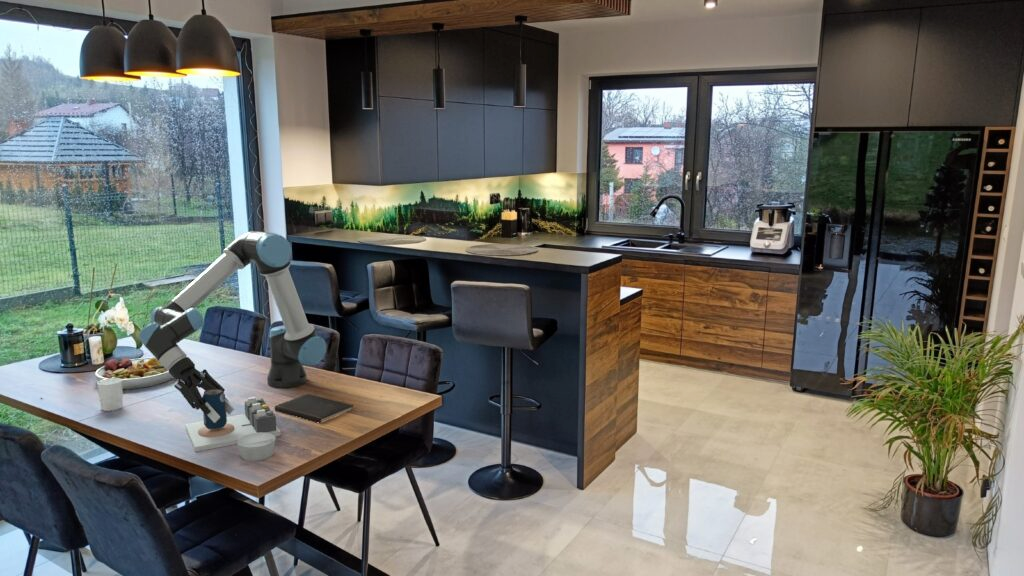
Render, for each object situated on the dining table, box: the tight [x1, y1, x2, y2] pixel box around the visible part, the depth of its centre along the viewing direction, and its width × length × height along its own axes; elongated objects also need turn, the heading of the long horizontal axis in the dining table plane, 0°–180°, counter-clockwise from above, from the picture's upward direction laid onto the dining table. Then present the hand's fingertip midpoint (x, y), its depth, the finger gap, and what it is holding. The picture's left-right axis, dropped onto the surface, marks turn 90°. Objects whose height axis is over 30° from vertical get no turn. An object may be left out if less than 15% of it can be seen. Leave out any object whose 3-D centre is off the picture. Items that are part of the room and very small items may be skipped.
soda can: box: [202, 389, 228, 430], centre depth 236 cm, size 7×7×12 cm
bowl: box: [94, 357, 174, 390], centre depth 292 cm, size 30×30×8 cm
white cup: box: [96, 378, 124, 412], centre depth 260 cm, size 8×8×10 cm
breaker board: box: [184, 396, 282, 452], centre depth 239 cm, size 26×22×8 cm
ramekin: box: [236, 432, 277, 462], centre depth 221 cm, size 11×11×5 cm
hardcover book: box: [274, 393, 354, 424], centre depth 260 cm, size 16×23×2 cm
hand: (224, 415), depth 235 cm, fingers closed on soda can, 7 cm apart
